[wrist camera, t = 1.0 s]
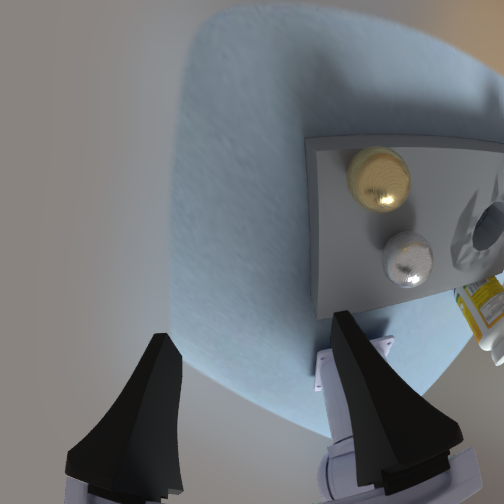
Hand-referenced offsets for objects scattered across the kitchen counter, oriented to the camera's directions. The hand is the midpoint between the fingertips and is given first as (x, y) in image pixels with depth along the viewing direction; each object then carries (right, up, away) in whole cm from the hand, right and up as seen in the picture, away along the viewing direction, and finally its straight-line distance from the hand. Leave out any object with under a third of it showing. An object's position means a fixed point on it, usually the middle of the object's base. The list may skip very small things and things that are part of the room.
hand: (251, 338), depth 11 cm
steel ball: (+9, +3, +2) cm, 10 cm away
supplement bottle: (+23, +1, +10) cm, 26 cm away
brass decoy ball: (+6, +7, -1) cm, 9 cm away
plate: (+14, +6, +5) cm, 16 cm away
